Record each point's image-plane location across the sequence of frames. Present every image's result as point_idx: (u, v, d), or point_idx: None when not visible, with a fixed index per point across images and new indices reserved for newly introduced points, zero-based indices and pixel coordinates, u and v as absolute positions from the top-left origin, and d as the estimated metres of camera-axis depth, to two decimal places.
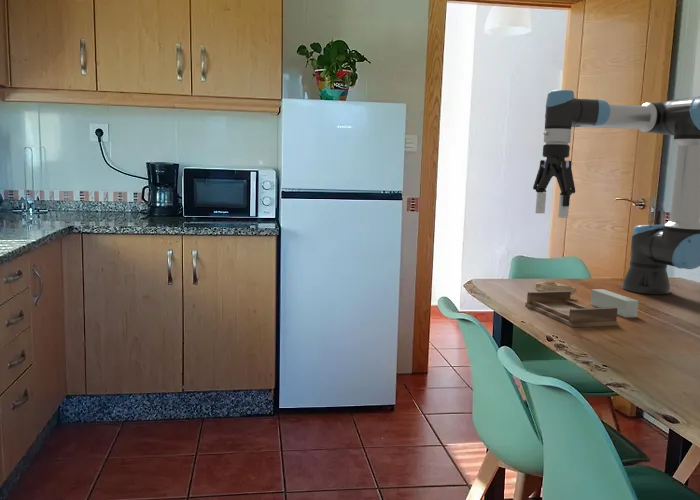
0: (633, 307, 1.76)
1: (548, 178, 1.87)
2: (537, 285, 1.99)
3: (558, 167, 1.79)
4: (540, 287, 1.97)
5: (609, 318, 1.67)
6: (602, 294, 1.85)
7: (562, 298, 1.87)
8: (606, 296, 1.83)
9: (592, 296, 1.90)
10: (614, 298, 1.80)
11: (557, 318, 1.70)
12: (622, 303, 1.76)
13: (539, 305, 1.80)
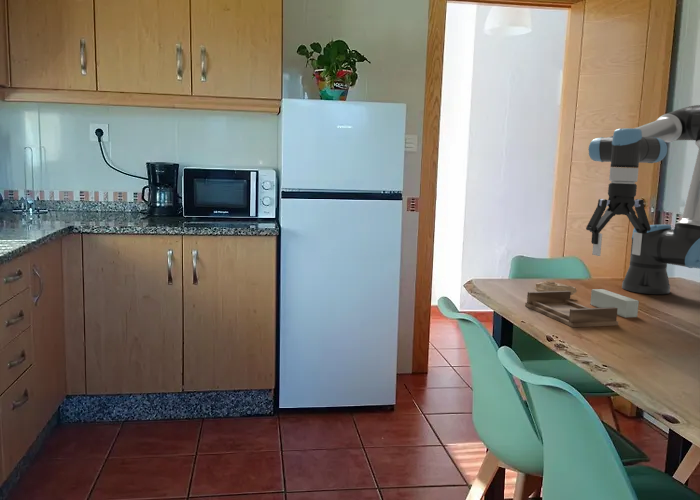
0: (633, 307, 1.76)
1: (631, 218, 1.80)
2: (537, 285, 1.99)
3: (608, 206, 1.79)
4: (540, 287, 1.97)
5: (609, 318, 1.67)
6: (602, 294, 1.85)
7: (562, 298, 1.87)
8: (606, 296, 1.83)
9: (592, 296, 1.90)
10: (614, 298, 1.80)
11: (557, 318, 1.70)
12: (622, 303, 1.76)
13: (539, 305, 1.80)
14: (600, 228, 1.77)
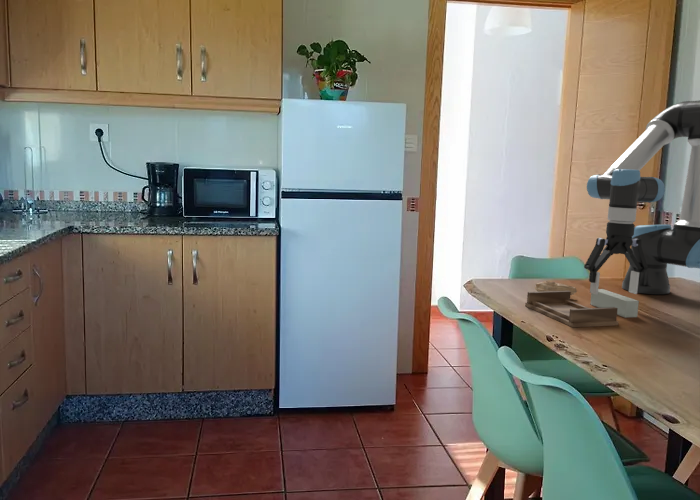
0: (633, 307, 1.76)
1: (628, 257, 1.82)
2: (537, 285, 1.99)
3: (606, 244, 1.81)
4: (540, 287, 1.97)
5: (609, 318, 1.67)
6: (602, 294, 1.85)
7: (562, 298, 1.87)
8: (606, 296, 1.83)
9: (592, 296, 1.90)
10: (614, 298, 1.80)
11: (557, 318, 1.70)
12: (622, 303, 1.76)
13: (539, 305, 1.80)
14: (598, 267, 1.79)
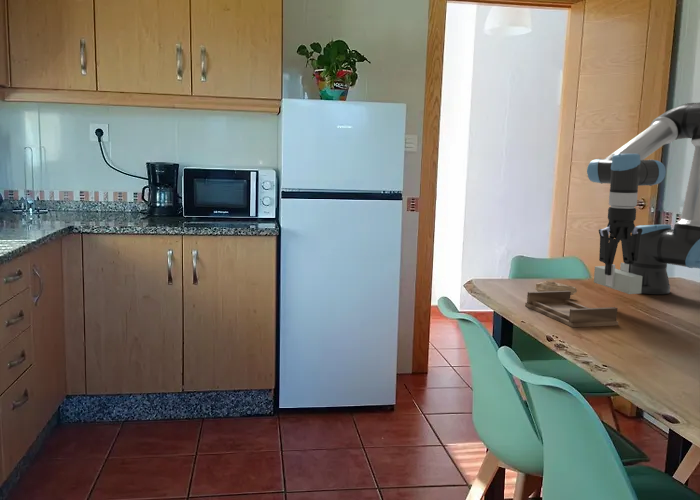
0: (637, 282, 1.75)
1: (624, 244, 1.81)
2: (537, 285, 1.99)
3: None
4: (540, 287, 1.97)
5: (609, 318, 1.67)
6: None
7: (562, 298, 1.87)
8: None
9: (595, 273, 1.89)
10: (618, 274, 1.79)
11: (557, 318, 1.70)
12: (626, 278, 1.76)
13: (539, 305, 1.80)
14: (612, 259, 1.80)
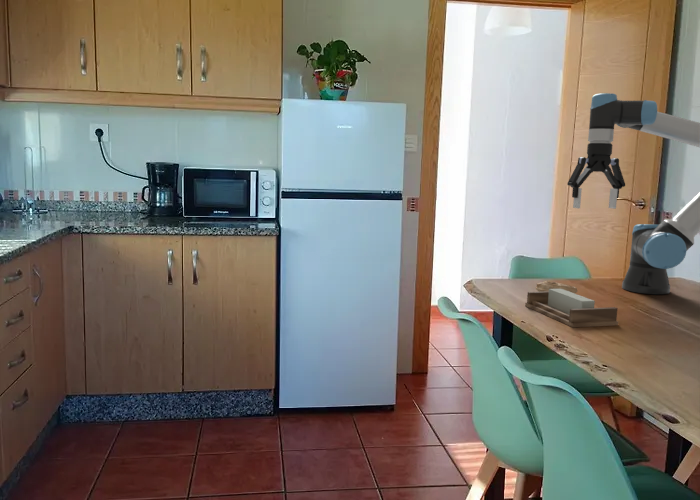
0: (589, 307, 1.68)
1: (607, 175, 2.01)
2: (538, 285, 1.99)
3: (587, 163, 2.00)
4: (541, 287, 1.97)
5: (609, 318, 1.67)
6: (559, 294, 1.78)
7: None
8: (562, 296, 1.76)
9: (549, 296, 1.82)
10: (570, 298, 1.72)
11: (557, 318, 1.70)
12: (578, 303, 1.69)
13: (539, 305, 1.80)
14: (580, 183, 1.98)
